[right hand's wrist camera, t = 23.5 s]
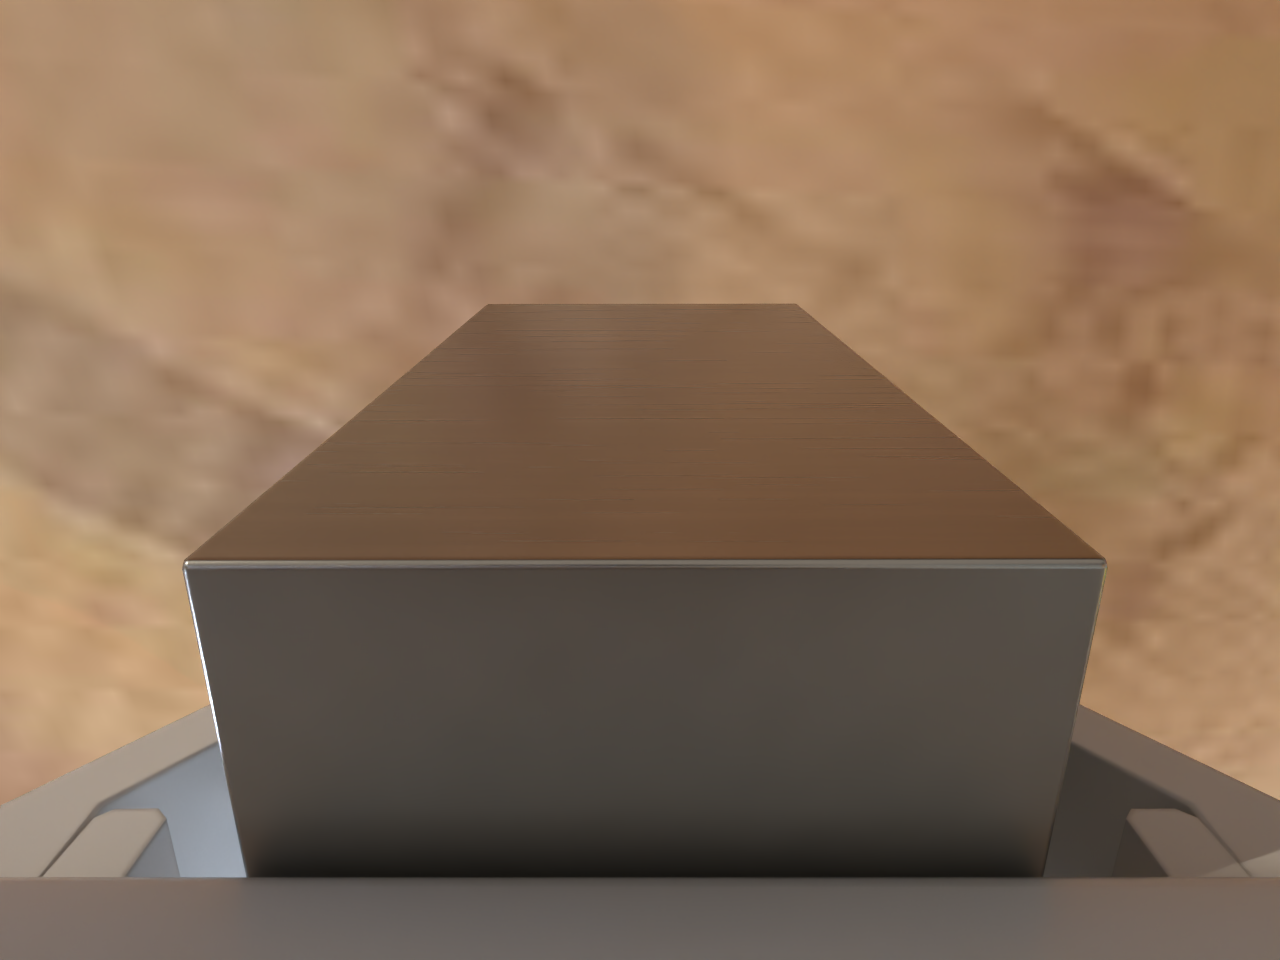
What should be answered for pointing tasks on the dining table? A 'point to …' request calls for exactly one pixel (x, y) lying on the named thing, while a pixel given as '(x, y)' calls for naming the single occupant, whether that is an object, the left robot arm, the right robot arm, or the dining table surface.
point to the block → (644, 618)
